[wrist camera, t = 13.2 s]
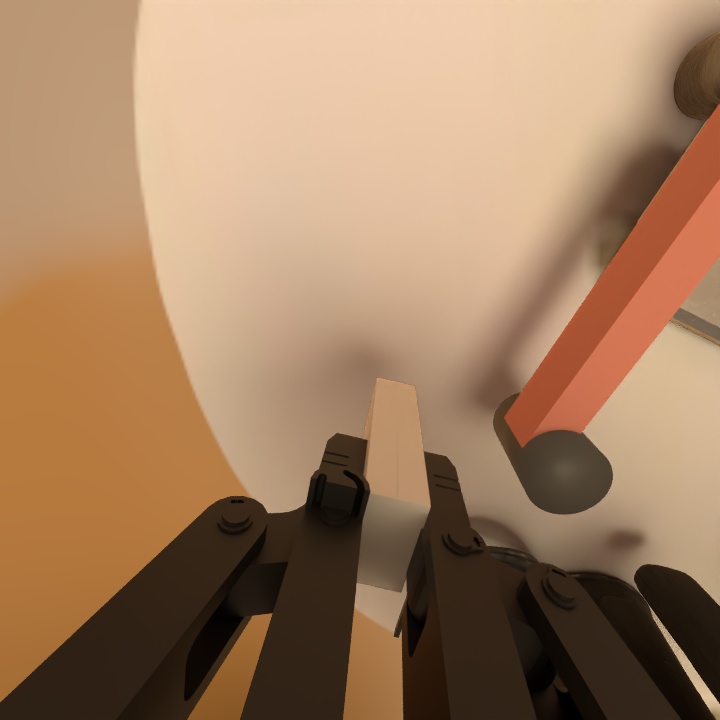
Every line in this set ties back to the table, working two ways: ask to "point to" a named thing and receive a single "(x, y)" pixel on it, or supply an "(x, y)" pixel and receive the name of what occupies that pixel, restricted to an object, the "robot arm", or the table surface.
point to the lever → (614, 334)
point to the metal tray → (699, 100)
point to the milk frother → (641, 634)
